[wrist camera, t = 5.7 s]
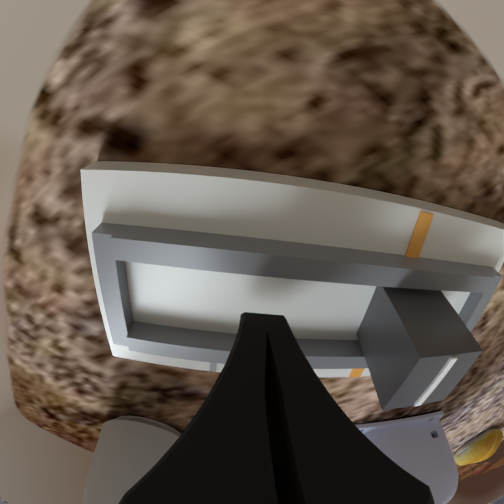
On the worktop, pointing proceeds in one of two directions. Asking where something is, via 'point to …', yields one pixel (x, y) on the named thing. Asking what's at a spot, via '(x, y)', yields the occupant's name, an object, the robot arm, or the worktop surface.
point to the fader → (414, 346)
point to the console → (267, 259)
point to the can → (125, 456)
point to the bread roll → (479, 447)
